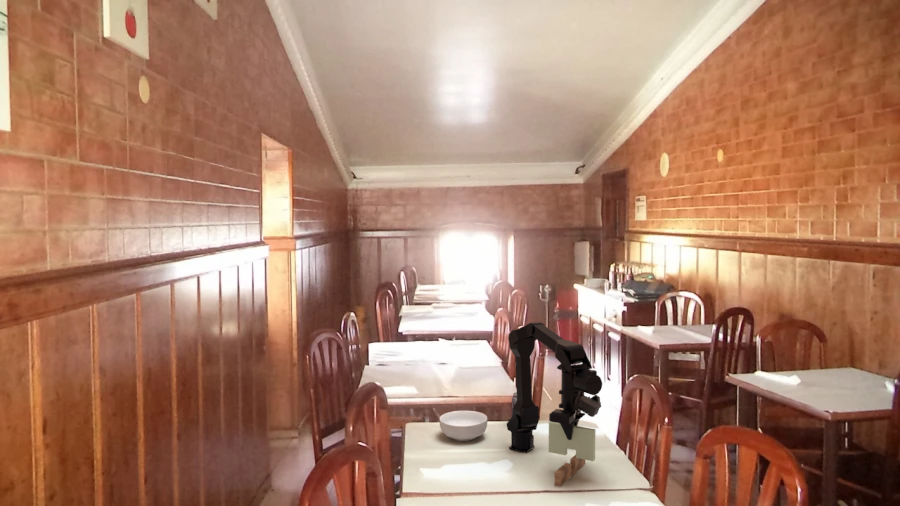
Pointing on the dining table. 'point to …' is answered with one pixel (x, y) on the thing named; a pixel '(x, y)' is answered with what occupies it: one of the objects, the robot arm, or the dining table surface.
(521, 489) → the dining table surface
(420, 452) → the dining table surface
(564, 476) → the notched wooden bar
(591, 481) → the dining table surface
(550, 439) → the upright grey panel
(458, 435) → the cereal bowl
